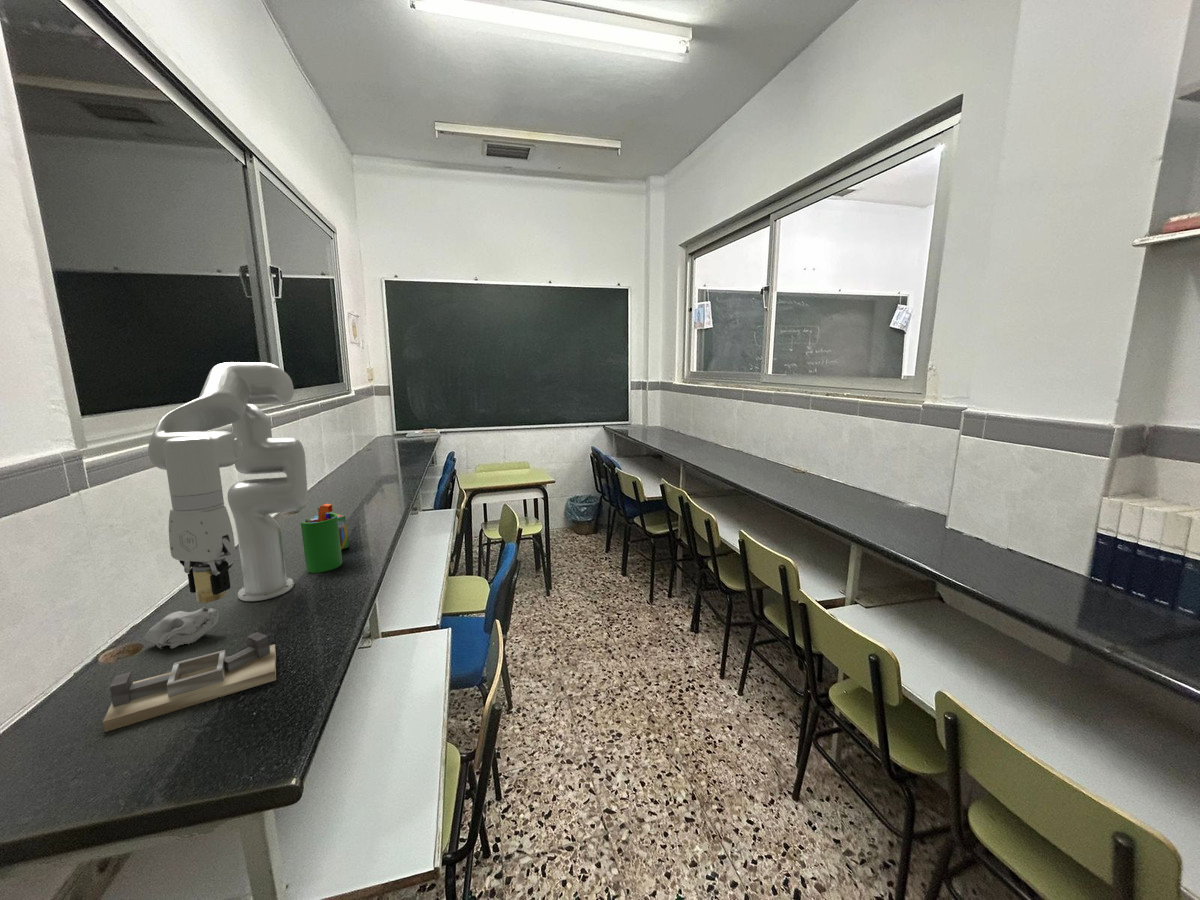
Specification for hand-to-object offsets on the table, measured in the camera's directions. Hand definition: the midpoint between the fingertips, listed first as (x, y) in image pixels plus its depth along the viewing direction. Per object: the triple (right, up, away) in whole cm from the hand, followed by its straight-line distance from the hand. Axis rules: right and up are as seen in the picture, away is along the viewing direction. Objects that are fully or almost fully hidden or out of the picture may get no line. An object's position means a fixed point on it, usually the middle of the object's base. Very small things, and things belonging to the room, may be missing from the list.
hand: (210, 589), depth 92 cm
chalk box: (-16, -7, +67) cm, 69 cm away
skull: (-17, -16, +14) cm, 27 cm away
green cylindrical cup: (-9, -9, +54) cm, 55 cm away
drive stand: (-1, -18, -1) cm, 19 cm away
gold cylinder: (0, -2, 0) cm, 2 cm away
